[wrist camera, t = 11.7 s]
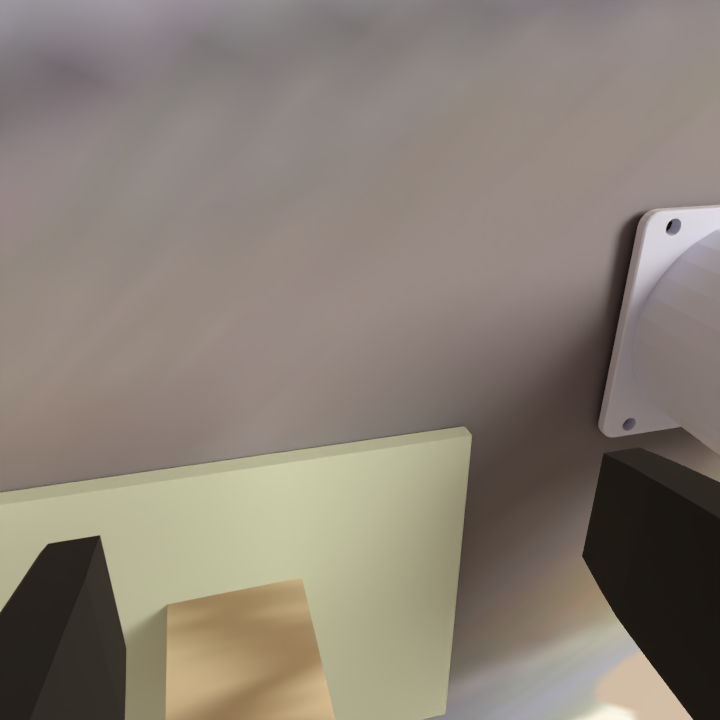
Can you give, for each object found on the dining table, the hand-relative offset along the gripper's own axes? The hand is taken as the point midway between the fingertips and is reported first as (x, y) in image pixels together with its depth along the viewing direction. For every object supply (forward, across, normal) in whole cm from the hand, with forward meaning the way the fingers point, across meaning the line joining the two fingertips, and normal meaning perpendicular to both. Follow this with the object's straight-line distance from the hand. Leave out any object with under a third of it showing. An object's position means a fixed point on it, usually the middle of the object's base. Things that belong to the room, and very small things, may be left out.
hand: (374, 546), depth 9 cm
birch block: (+9, +2, +12) cm, 15 cm away
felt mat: (+10, +2, +12) cm, 16 cm away
